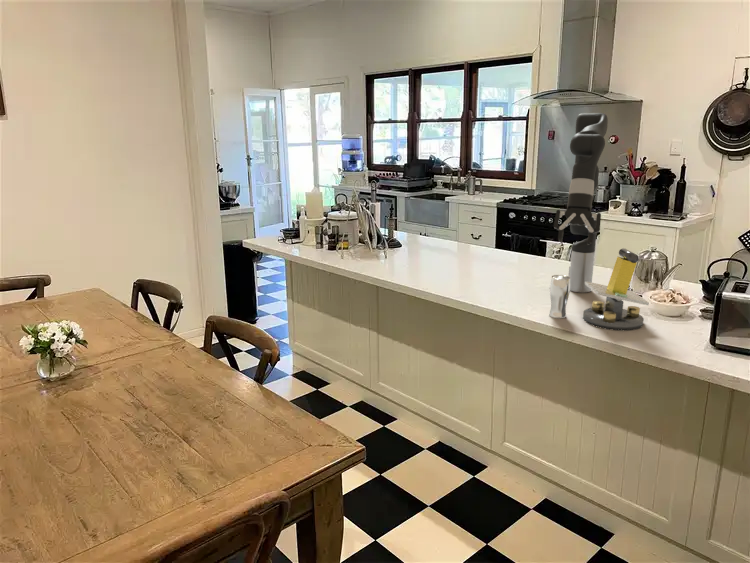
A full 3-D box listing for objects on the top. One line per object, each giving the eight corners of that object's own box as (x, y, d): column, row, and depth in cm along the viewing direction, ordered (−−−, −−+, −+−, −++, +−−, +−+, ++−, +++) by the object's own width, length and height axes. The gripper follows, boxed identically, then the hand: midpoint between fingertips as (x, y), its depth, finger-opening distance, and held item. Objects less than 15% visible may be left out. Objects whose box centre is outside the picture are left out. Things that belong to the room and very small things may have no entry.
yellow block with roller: (584, 283, 202) (597, 242, 198) (632, 293, 203) (646, 252, 198) (597, 294, 189) (612, 250, 185) (648, 305, 189) (664, 261, 185)
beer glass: (544, 313, 207) (547, 274, 203) (562, 312, 208) (566, 274, 204) (552, 319, 200) (555, 279, 196) (570, 318, 201) (574, 279, 197)
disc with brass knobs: (575, 311, 209) (578, 287, 206) (629, 312, 208) (632, 287, 205) (593, 330, 189) (596, 303, 187) (652, 330, 188) (656, 304, 186)
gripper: (603, 198, 181) (597, 247, 180) (558, 195, 186) (552, 242, 185) (604, 193, 174) (598, 244, 173) (557, 190, 179) (551, 239, 178)
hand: (574, 243), depth 179 cm, fingers open, 8 cm apart
